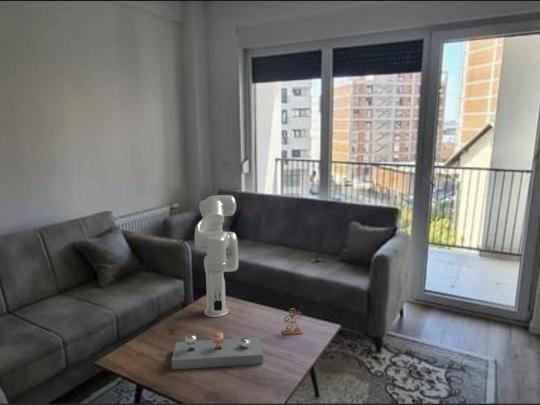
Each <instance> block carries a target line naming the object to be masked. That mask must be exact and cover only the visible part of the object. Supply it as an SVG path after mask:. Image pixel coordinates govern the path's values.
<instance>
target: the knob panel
mask: <svg viewBox="0 0 540 405" xmlns="http://www.w3.org/2000/svg"><path fill="white" fill-rule="evenodd" d="M241 338H242V337H240V338H239V337H238V338H225V339H224V338H223V342H221V343H220V348H219V349H217V348H216V343H214V342H213V339H207V340H203V339H202V340H196V343H195V344H193V350H189V345H187V344H186V343H185V341H176V342H175V346H174V350H173V353H172V357H171V370H187V369H201V368H216V367H231V366H232V367H233V366H248V365H249V366H251V365H263V364H264V357H263V355H264V353H263V349H262V348H263V347H262V342H261V337H259V336H258V337H247V338H248V339H250V347H249V348H246V349H243V348H240V347H239V340H240V339H241Z"/></svg>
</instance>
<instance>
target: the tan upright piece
mask: <svg viewBox="0 0 540 405" xmlns="http://www.w3.org/2000/svg"><path fill="white" fill-rule="evenodd" d="M297 316H298V317H297ZM301 316H302V312H301V311H297V310H296V309H295V307H293V308H289V310H288V315H286V316H285V317H284V318H283V322H284V323H285V324H287V323H288V324H287V326H286V328H283V329H282V334H283V336H291V335H296V336H297V335H303V329H302V328H300V327H299V326H298V324H297V320H298V319H300V318H301ZM288 317H290V318H291V319H290V318H288ZM294 318H295V319H294ZM290 324H292V325H291V326H290ZM293 324H295V325H296V327H295V326H294V325H293ZM292 327H293V328H292Z"/></svg>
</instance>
